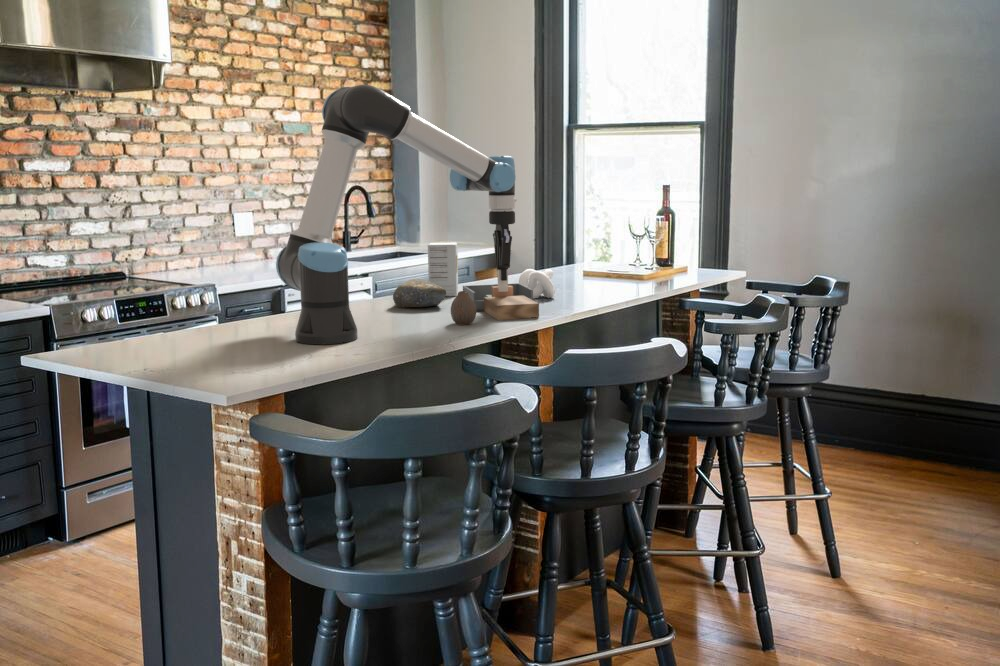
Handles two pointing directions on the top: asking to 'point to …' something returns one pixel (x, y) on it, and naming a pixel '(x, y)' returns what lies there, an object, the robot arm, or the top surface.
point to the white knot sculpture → (538, 282)
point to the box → (482, 290)
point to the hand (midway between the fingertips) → (502, 291)
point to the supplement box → (444, 266)
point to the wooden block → (511, 307)
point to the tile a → (499, 294)
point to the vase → (463, 309)
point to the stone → (418, 294)
